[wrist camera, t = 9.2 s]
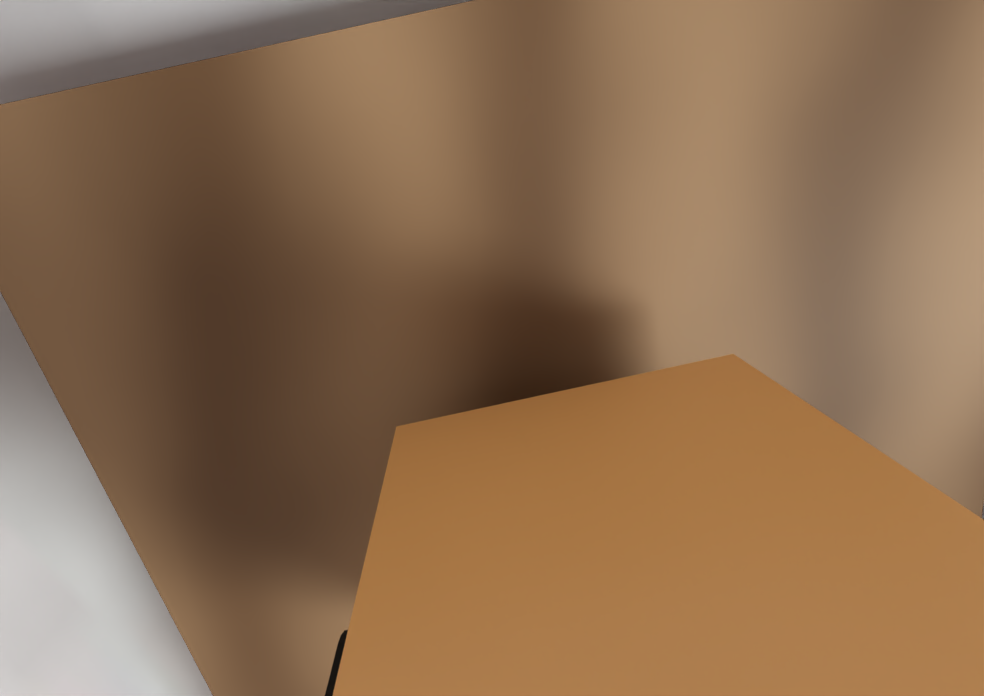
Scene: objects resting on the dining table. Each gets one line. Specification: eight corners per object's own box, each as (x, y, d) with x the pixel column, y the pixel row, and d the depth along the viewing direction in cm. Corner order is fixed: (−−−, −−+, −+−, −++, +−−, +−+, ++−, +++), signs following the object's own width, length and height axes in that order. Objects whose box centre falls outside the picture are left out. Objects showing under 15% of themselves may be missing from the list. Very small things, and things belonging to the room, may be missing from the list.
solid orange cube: (732, 353, 10) (1204, 666, 4) (748, 615, 12) (1063, 1098, 6) (396, 426, 10) (294, 857, 4) (470, 674, 12) (484, 1216, 6)
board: (954, -76, 11) (1743, -470, 4) (903, 645, 17) (1182, 940, 11) (6, 132, 11) (-694, 70, 4) (310, 772, 17) (219, 1143, 11)
